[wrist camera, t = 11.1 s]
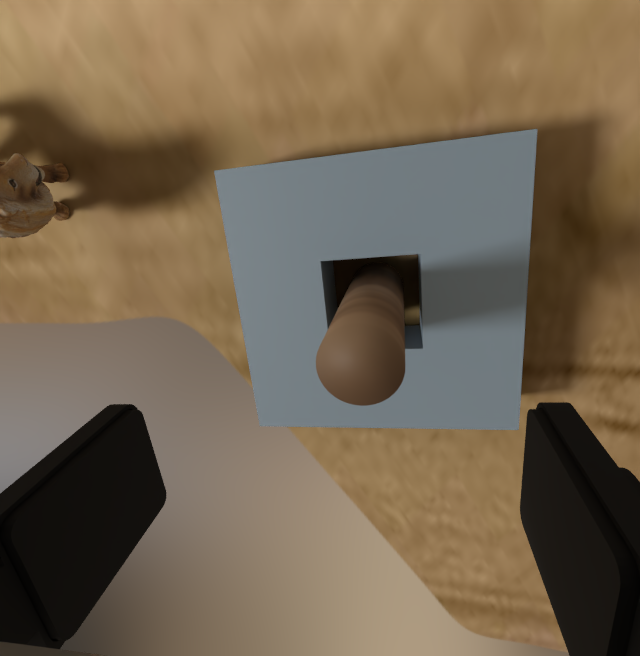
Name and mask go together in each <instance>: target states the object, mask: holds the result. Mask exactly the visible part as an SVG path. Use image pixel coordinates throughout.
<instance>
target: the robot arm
mask: <svg viewBox="0 0 640 656" xmlns="http://www.w3.org/2000/svg"><path fill="white" fill-rule="evenodd" d="M165 501H166V490H165V486H164V483H163V480H162V476H161V473H160V470H159V467H158V463H157V460H156V456H155V454H154V450H153V447H152V443H151V440H150V437H149V433H148V430H147V427H146V424H145V420H144V417H143V414H142V412H141V411H139V410H137V408H136V407H135V406H134V405H132V404H129V405H128V404H123V405H122V404H121V405H120V404H117V405H116V404H114V405H109V406H107V407H106V408H105V409H103V410H102V411H101V412H100V413H98V414H97V415H96V416H95V417H93V418H92V419H91V420H90V421H89V422H88V423H86V424H85V425H84V426H82V427H81V428H80V429H79V430H78V431H76V432H75V433H74V434H73V435H72V436H70V437H69V438H68V439H67V440H65V441H64V442H63V443H62V444H60V445H59V446H58V447H57V448H56V449H54V450H53V451H52V452H51V453H49V454H48V455H47V456H46V457H45V458H44V459H42V460H41V461H40V462H38V463H37V464H36V465H35V466H34V467H32V468H31V469H30V470H29V471H28V472H26V473H25V474H24V475H22V476H21V477H20V478H19V479H18V480H16V481H15V482H14V483H13V484H12V485H10V486H9V487H8V488H7V489H5V490H4V491H3V492H2V493H1V494H0V656H106V655H99V654H91V653H83V652H76V651H68V650H61V649H60V648H61V646H62V645H63V643H64V642H65V641H66V640H68V639H70V638H71V637H72V636H73V635H74V634H75V633H76V632H77V630H78V628H79V627H80V626H81V624H82V623H83V621H84V620H85V619H86V617H87V616H88V614H89V613H90V611H91V610H92V608H93V607H94V606H95V604H96V602H97V601H98V600H99V598H100V597H101V595H102V594H103V593H104V591H105V590H106V588H107V587H108V585H109V584H110V582H111V581H112V579H113V578H114V576H115V575H116V574H117V572H118V571H119V569H120V568H121V567H122V565H123V564H124V562H125V561H126V559H127V558H128V556H129V555H130V554H131V552H132V550H133V549H134V548H135V546H136V545H137V543H138V542H139V540H140V539H141V538H142V536H143V535H144V533H145V532H146V530H147V529H148V527H149V526H150V525H151V523H152V522H153V520H154V519H155V517H156V516H157V515H158V513H159V512H160V510H161V509H162V507H163V505H164V503H165ZM520 514H521V520H522V524H523V527H524V530H525V533H526V535H527V538H528V541H529V544H530V546H531V549H532V552H533V555H534V558H535V560H536V563H537V566H538V569H539V572H540V574H541V577H542V580H543V583H544V585H545V588H546V591H547V594H548V597H549V599H550V602H551V605H552V608H553V610H554V613H555V616H556V619H557V622H558V624H559V627H560V630H561V633H562V636H563V638H564V641H565V644H566V647H567V649H568V652H569V655H570V656H640V482H639V481H638V479H637V478H636V477H635V476H634V475H633V474H632V473H631V472H630V471H629V470H627V469H625V468H619V467H618V466H617V465H616V463H615V462H614V461H613V459H612V458H611V457H610V455H609V454H608V453H607V451H606V450H605V449H604V447H603V446H602V445H601V443H600V442H599V441H598V439H597V438H596V437H595V435H594V434H593V433H592V431H591V430H590V429H589V427H588V426H587V425H586V423H585V422H584V421H583V419H582V418H581V417H580V415H579V414H578V413H577V411H576V410H575V409H574V407H573V406H572V405H571V404H570V403H539V404H538V405H537V408H536V409H530V410H529V411H528V414H527V425H526V437H525V450H524V463H523V476H522V489H521V502H520Z"/></svg>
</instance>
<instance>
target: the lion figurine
mask: <svg viewBox="0 0 640 656" xmlns="http://www.w3.org/2000/svg"><path fill="white" fill-rule="evenodd" d="M68 178H69V174H68V171H67V169H66V167H65V166H64V164H63V163H57V164H54V165H45V166H35V165H32V164H31V163H30V162H28V161H27V159H26V158H25V157H23V156H22V155H21V154H19V153H15V154H14V155H13V156H12V157H11V158H10V159H9V160H8V161H7V162H6V163H4V162H0V237H10V238H16V237H25V236H29V235H30V234H34V233H37V232H38V231H39V229H41V228H43V227H44V226H45V225H46V224H48V222H49V221H50V220H51V218H52V217H53V216H54V217H55V219H57V220H59V221H61V220H66V219H67V218H68V217H69V208H68V207H67V206H66V205H64V204H62V203H59V202H53V197H52V195H51V193H50V190H49V189H48V187H47V186H46V185H45V184H44V183H43V182H48V183H54V182H66V181H67V179H68ZM42 181H43V182H42Z"/></svg>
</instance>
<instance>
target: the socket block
mask: <svg viewBox="0 0 640 656" xmlns="http://www.w3.org/2000/svg"><path fill="white" fill-rule="evenodd" d="M536 143H537V129H532V130H524V131H517V132H509V133H501V134H493V135H486V136H478V137H470V138H463V139H455V140H447V141H440V142H432V143H424V144H416V145H409V146H401V147H393V148H386V149H378V150H370V151H363V152H355V153H347V154H340V155H332V156H324V157H316V158H309V159H301V160H293V161H286V162H278V163H270V164H263V165H255V166H247V167H239V168H232V169H224V170H216V171H214V173H215V179H216V184H217V190H218V195H219V201H220V206H221V212H222V218H223V223H224V229H225V234H226V240H227V246H228V251H229V257H230V262H231V268H232V273H233V279H234V285H235V290H236V296H237V301H238V307H239V313H240V318H241V324H242V329H243V335H244V340H245V346H246V352H247V357H248V363H249V368H250V374H251V379H252V385H253V391H254V396H255V402H256V407H257V413H258V418H259V424H260V426H285V427H353V428H422V429H490V430H519V416H520V400H521V384H522V368H523V352H524V336H525V320H526V304H527V287H528V271H529V255H530V239H531V223H532V207H533V191H534V175H535V159H536ZM412 254H418V268H419V305H420V325H414V326H405V375H404V379H403V382H402V383H401V385H400V387H399V388H398V390H397V391H396V392H395V393H394V394H393V395H392V396H391V397H389V398H388V399H386V400H385V401H382V402H380V403H377V404H374V405H367V406H359V405H352V404H349V403H346V402H343V401H341V400H339V399H337V398H336V397H334V396H333V395H332V394H330V393H329V392H328V391H327V390H326V388H325V387H324V386H323V384H322V383H321V381H320V379H319V377H318V374H317V370H316V356H317V351H318V349H319V347H320V344H321V342H322V340H323V338H324V336H325V334H326V332H327V330H328V328H329V326H330V324H331V322H332V320H333V318H334V316H335V314H336V312H337V310H338V308H337V298H336V287H335V277H334V266H333V260H344V259H358V258H371V257H385V256H398V255H412Z"/></svg>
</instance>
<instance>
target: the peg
mask: <svg viewBox="0 0 640 656" xmlns="http://www.w3.org/2000/svg"><path fill="white" fill-rule="evenodd" d="M316 370H317V374H318V377H319V379H320V381H321V383H322V384H323V386H324V387H325V388H326V390H327V391H328V392H329V393H330V394H332V395H333V396H334V397H336V398H337V399H339V400H341V401H343V402H346V403H349V404H352V405H359V406H367V405H374V404H377V403H380V402H382V401H385V400H386V399H388V398H389V397H391V396H392V395H393V394H394V393H395V392H396V391H397V390H398V388H399V387H400V385H401V383H402V382H403V379H404V375H405V322H404V285H403V280H402V277H401V276H400V274H399V273H398V271H397V270H396V269H395V268H393V267H392V266H390V265H388V264H385V263H380V262H375V263H370V264H367V265H365V266H363V267H362V268H360V269H359V270H358V271H357V273H356V274H355V276H354V277H353V279H352V281H351V283H350V286H349V288H348V290H347V292H346V294H345V296H344V298H343V300H342V302H341V304H340V306H339V308H338V310H337V312H336V314H335V316H334V318H333V320H332V322H331V324H330V326H329V328H328V330H327V332H326V334H325V336H324V338H323V340H322V342H321V344H320V347H319V349H318V351H317V356H316Z"/></svg>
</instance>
